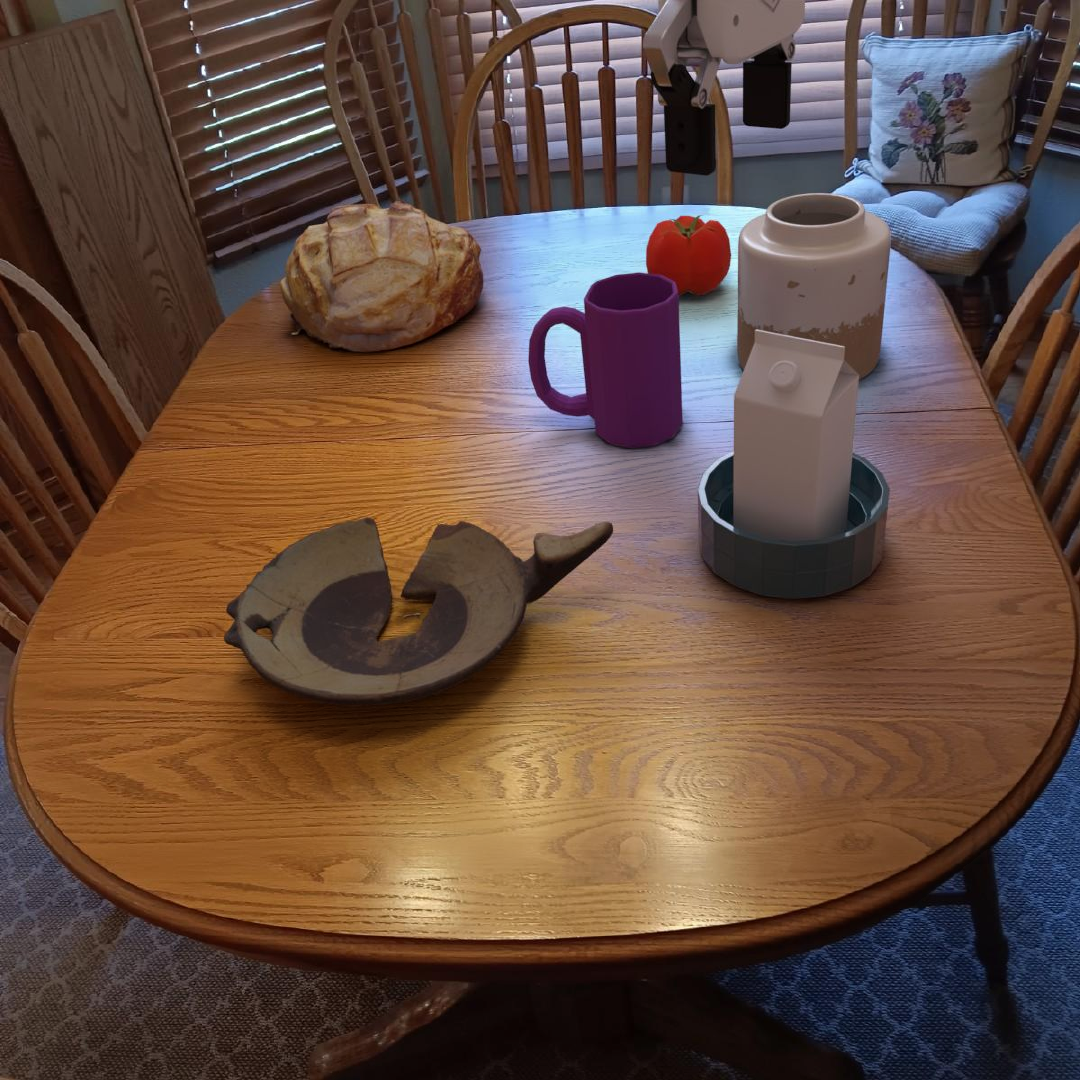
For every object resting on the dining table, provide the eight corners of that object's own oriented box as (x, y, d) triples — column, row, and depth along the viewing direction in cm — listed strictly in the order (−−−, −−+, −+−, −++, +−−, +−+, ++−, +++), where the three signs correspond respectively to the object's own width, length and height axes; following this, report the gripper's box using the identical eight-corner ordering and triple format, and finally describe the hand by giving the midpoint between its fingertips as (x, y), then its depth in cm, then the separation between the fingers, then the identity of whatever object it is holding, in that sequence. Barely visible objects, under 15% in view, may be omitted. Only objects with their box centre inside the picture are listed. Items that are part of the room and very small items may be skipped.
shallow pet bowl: (910, 524, 90) (917, 465, 87) (837, 627, 81) (842, 566, 77) (749, 479, 98) (750, 424, 95) (667, 569, 89) (664, 511, 85)
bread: (347, 278, 153) (316, 175, 144) (516, 272, 142) (493, 161, 134) (253, 358, 135) (211, 247, 127) (438, 359, 124) (405, 237, 116)
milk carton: (770, 509, 93) (775, 311, 82) (846, 531, 89) (863, 327, 78) (732, 552, 89) (733, 349, 77) (811, 577, 85) (824, 368, 74)
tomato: (632, 287, 136) (628, 222, 131) (704, 266, 139) (703, 201, 134) (674, 315, 128) (672, 247, 123) (749, 292, 131) (750, 224, 126)
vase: (868, 323, 121) (880, 178, 111) (890, 388, 109) (906, 231, 99) (734, 330, 123) (734, 189, 113) (741, 394, 111) (742, 242, 101)
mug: (675, 453, 103) (670, 312, 94) (525, 446, 107) (506, 310, 98) (689, 406, 110) (685, 271, 101) (547, 401, 114) (532, 271, 105)
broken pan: (305, 550, 97) (284, 481, 92) (627, 563, 90) (621, 489, 85) (195, 730, 79) (163, 656, 75) (584, 762, 73) (574, 683, 68)
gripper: (709, -160, 49) (714, 199, 60) (861, -196, 60) (843, 114, 70) (581, -149, 54) (605, 185, 64) (743, -185, 64) (742, 107, 74)
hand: (730, 148), depth 67 cm, fingers open, 9 cm apart
